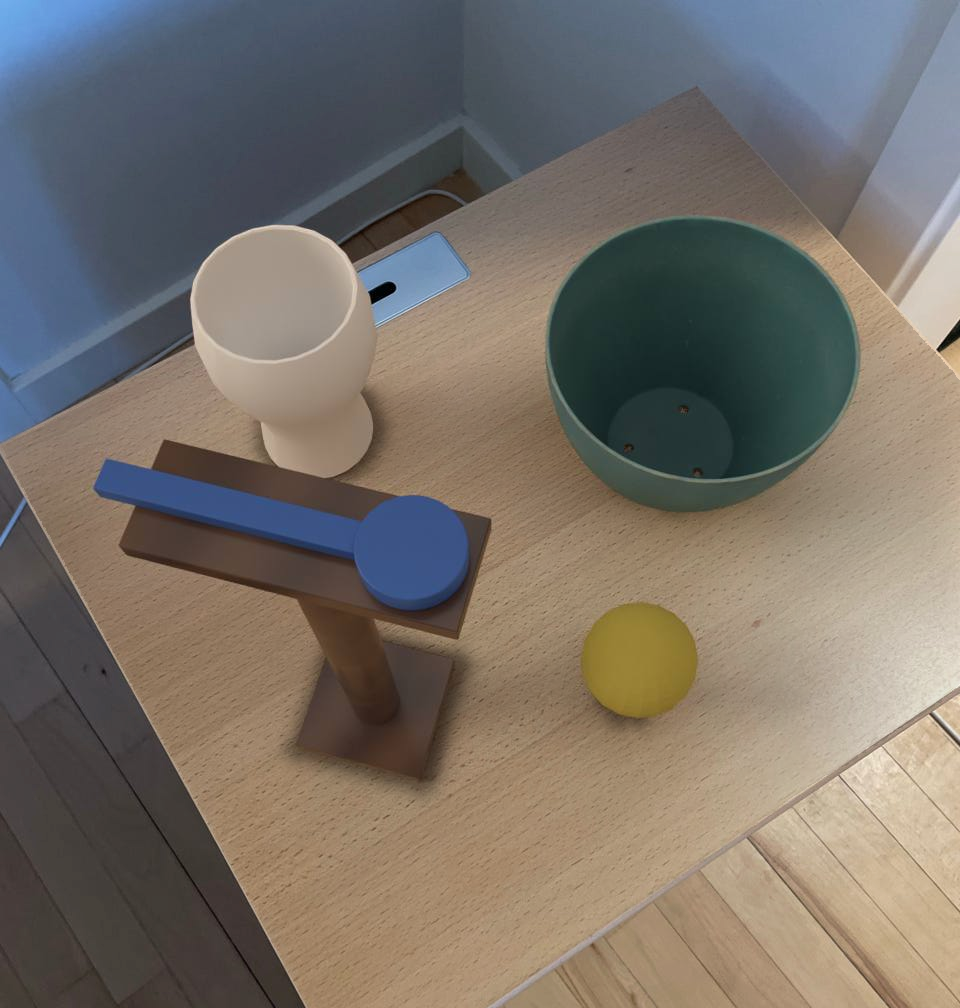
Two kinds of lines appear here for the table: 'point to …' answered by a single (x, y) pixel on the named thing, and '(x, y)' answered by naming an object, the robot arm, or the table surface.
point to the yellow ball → (639, 660)
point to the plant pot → (699, 360)
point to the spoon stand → (322, 607)
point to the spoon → (320, 530)
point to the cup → (289, 343)
